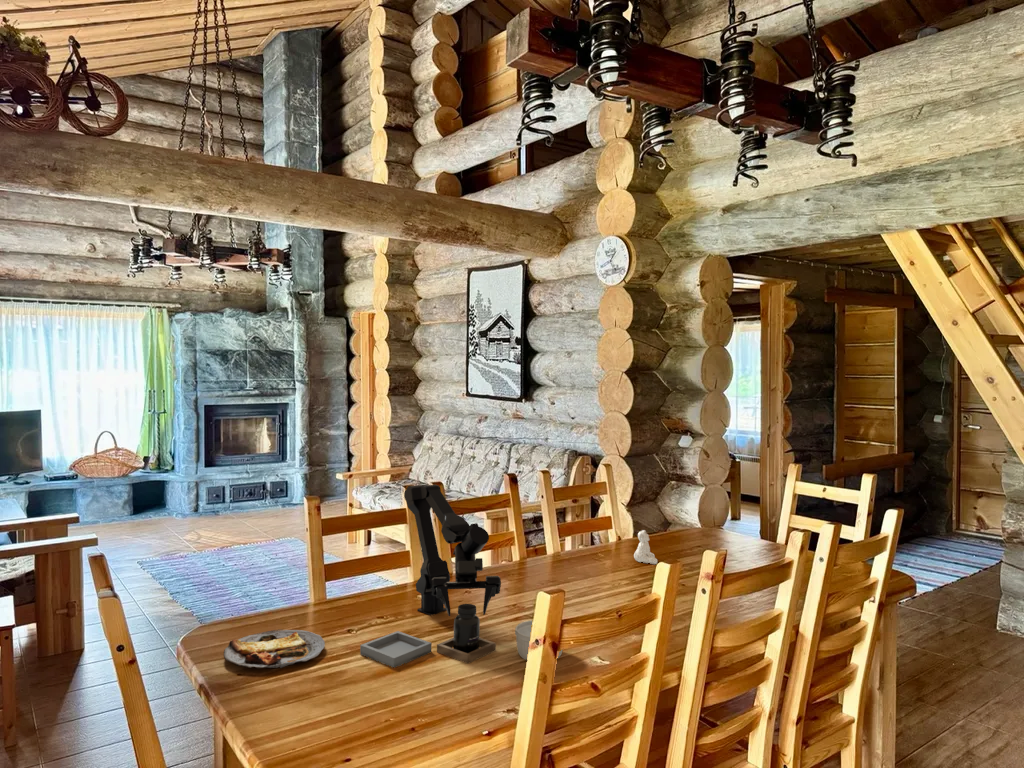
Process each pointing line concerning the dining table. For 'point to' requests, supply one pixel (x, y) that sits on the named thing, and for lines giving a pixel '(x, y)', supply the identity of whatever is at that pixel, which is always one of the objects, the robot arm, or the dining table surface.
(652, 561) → the white creature statuette
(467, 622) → the supplement bottle
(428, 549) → the robot arm
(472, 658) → the walnut collar
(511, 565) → the dining table surface
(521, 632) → the ramekin
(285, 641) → the food plate
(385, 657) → the grey tray
